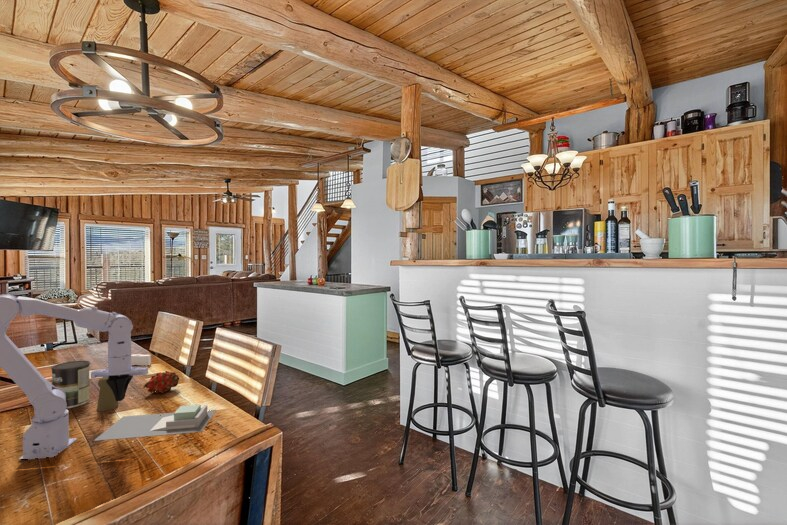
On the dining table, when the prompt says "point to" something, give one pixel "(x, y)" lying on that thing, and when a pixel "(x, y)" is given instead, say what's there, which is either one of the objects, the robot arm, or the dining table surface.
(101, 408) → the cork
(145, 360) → the napkin holder
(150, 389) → the dragon fruit
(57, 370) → the coffee can
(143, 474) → the dining table surface
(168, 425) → the dock
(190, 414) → the cart
